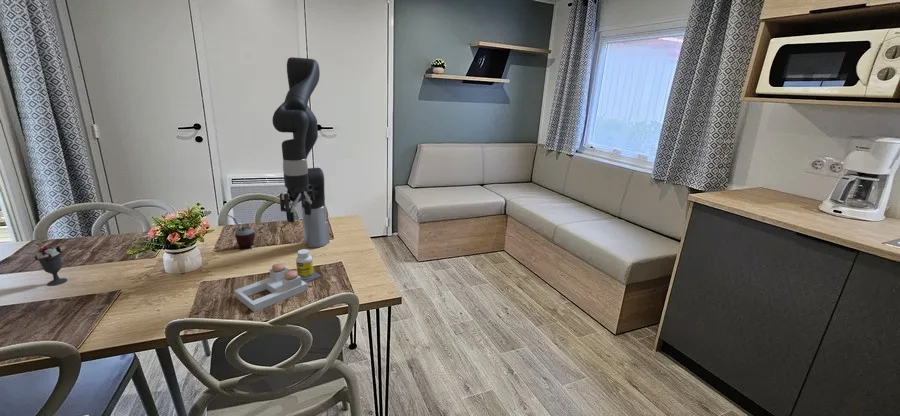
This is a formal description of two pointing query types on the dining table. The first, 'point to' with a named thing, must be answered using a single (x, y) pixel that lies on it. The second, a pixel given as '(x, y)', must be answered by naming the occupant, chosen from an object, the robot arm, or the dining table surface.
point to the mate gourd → (244, 236)
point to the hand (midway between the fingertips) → (299, 218)
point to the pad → (315, 276)
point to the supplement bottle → (304, 264)
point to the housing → (271, 290)
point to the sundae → (51, 263)
